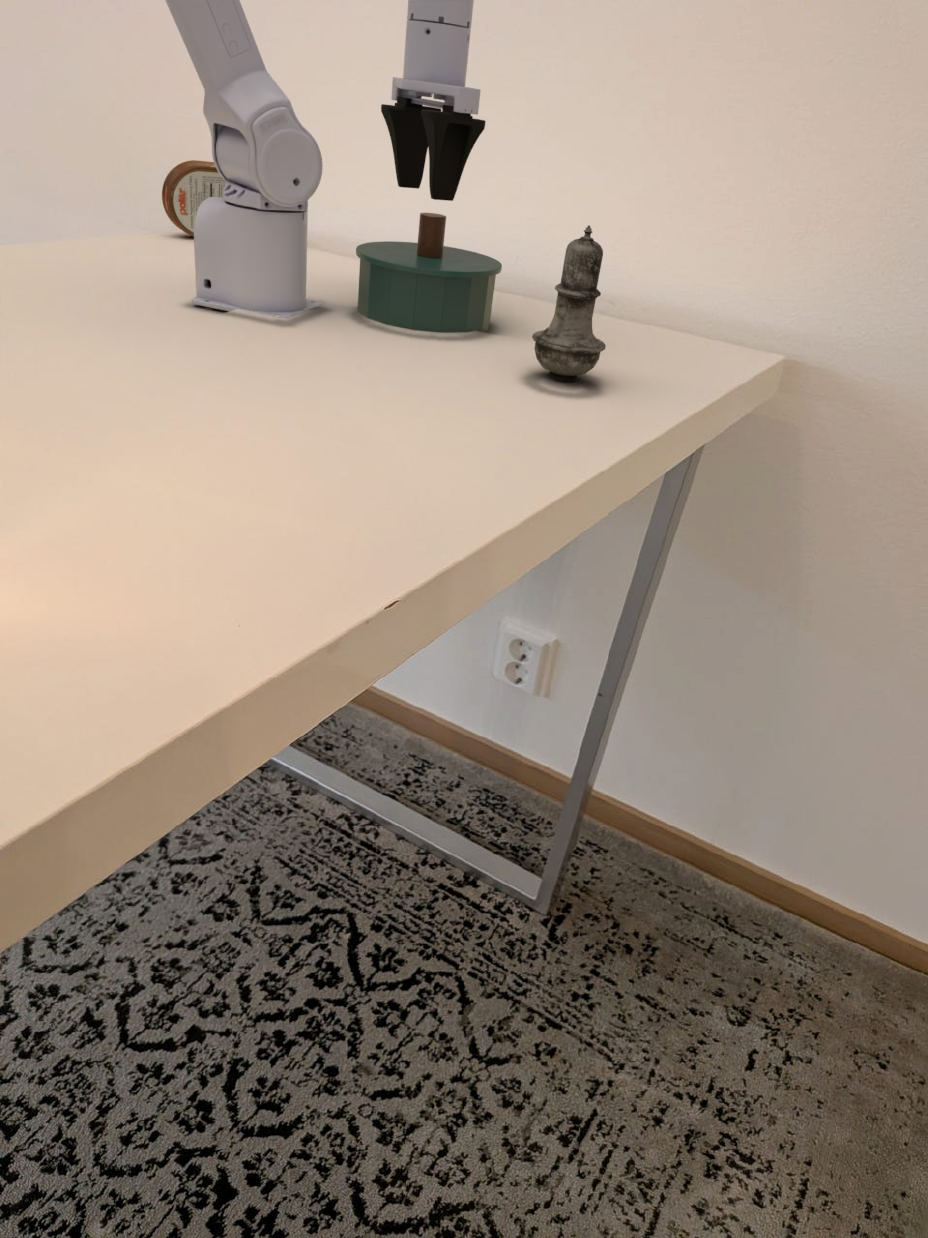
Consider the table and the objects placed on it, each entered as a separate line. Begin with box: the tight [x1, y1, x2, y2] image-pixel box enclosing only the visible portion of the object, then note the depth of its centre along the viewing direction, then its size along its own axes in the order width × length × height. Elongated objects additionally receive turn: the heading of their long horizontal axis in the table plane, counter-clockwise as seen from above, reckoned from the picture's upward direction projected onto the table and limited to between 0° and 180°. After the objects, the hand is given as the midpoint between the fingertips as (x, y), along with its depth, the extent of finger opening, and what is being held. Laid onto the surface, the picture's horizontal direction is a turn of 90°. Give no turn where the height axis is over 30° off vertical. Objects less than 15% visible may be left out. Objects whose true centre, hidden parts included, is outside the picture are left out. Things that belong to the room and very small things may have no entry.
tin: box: [161, 159, 226, 237], centre depth 108 cm, size 15×3×8 cm, turn 119°
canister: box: [357, 258, 497, 334], centre depth 83 cm, size 13×13×5 cm
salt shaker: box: [531, 225, 607, 383], centre depth 68 cm, size 6×6×12 cm
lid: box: [355, 212, 503, 278], centre depth 81 cm, size 14×14×5 cm
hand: (424, 193), depth 85 cm, fingers open, 7 cm apart
